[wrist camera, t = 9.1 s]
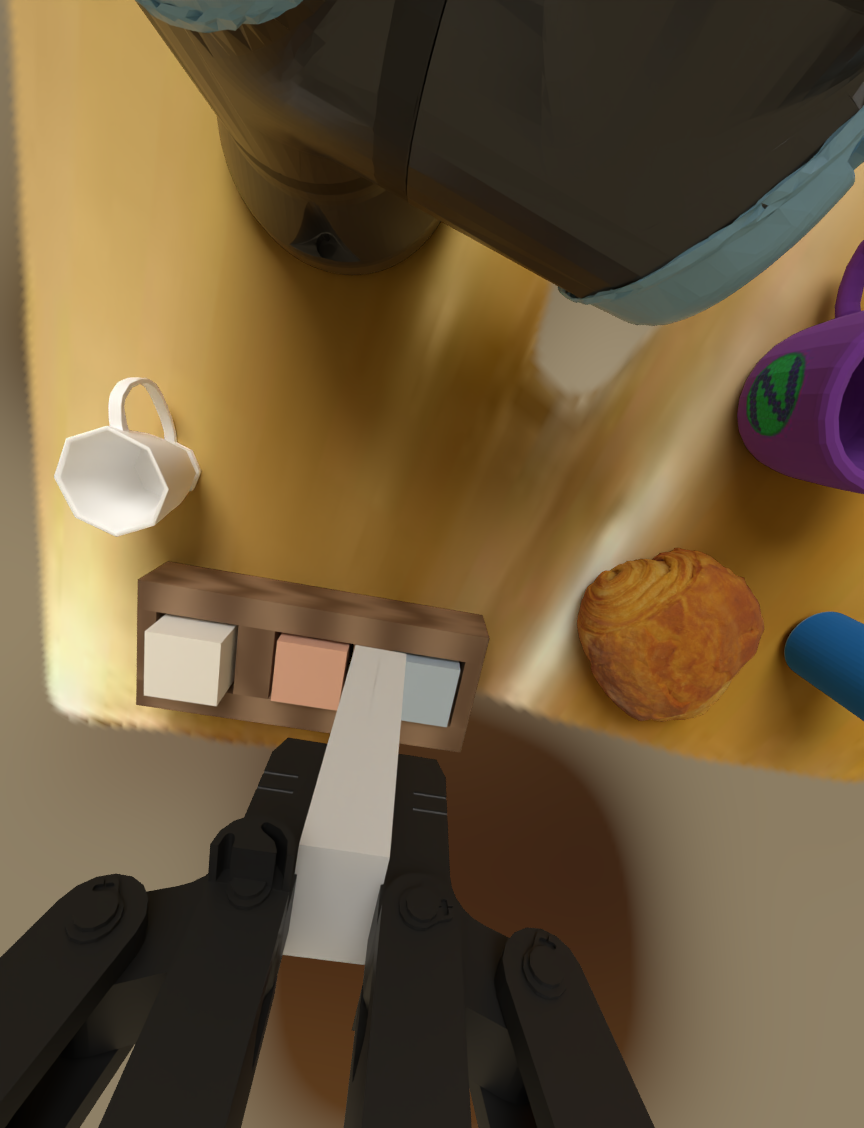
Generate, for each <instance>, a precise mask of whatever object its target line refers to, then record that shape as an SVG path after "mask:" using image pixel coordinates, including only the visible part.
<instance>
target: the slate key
mask: <svg viewBox="0 0 864 1128" xmlns="http://www.w3.org/2000/svg"><path fill="white" fill-rule="evenodd" d="M393 652H399V653H405V654H406V666H405V678H404V690H403V702H402V714H401V721H408V722H415V723H421V724H428V725H435V726H441V727H447V724H448V720H449V716H450V712H451V708H452V703H453V699H454V695H455V691H456V687H457V683H458V678H459V674H460V664H459V661H455V660H449V659H443V658H437V657H431V656H424V655H418V654H412V653H406V652H400V651H394V650H393Z"/></svg>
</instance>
